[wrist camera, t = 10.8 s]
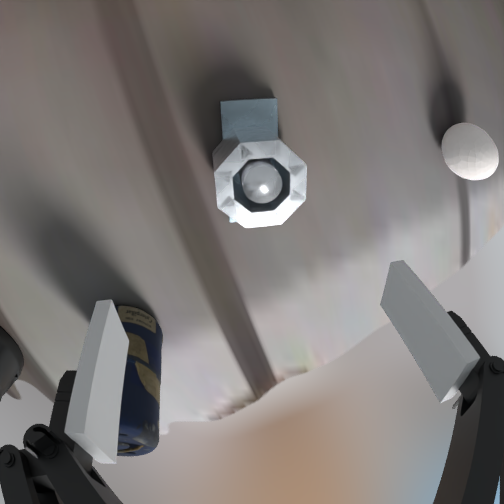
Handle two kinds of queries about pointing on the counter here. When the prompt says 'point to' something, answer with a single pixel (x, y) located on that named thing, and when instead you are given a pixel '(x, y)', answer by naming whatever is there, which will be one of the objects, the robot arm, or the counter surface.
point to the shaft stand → (254, 170)
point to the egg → (469, 151)
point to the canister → (140, 383)
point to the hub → (232, 193)
